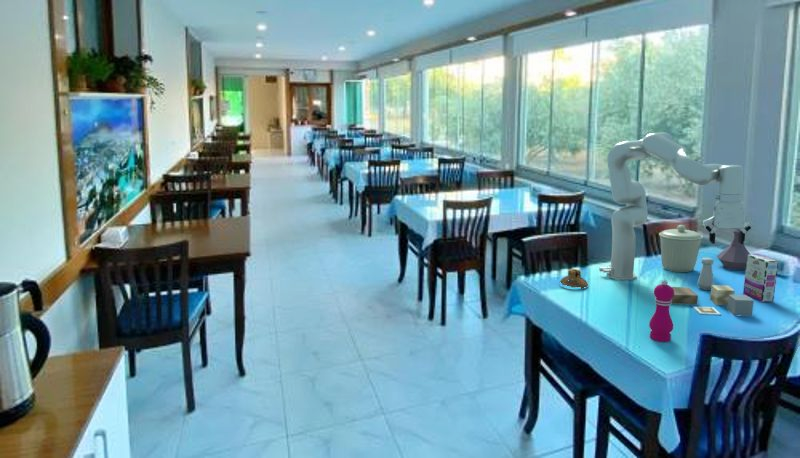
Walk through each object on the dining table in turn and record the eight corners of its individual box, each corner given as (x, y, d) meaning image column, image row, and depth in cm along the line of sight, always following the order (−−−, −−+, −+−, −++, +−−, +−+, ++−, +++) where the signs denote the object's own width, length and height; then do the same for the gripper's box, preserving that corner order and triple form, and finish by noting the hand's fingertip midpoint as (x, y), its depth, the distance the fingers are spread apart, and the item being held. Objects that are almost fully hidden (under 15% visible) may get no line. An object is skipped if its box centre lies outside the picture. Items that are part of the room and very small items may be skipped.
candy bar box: (774, 302, 216) (779, 261, 212) (762, 302, 215) (767, 261, 212) (754, 292, 227) (758, 253, 223) (742, 293, 226) (746, 254, 223)
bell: (573, 280, 248) (574, 264, 246) (593, 288, 237) (594, 271, 236) (553, 284, 243) (553, 268, 241) (572, 292, 232) (573, 275, 231)
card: (700, 314, 205) (700, 312, 205) (693, 307, 212) (693, 306, 212) (720, 314, 204) (720, 313, 204) (713, 308, 211) (713, 306, 210)
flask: (707, 263, 269) (711, 222, 265) (739, 261, 271) (743, 221, 267) (730, 273, 253) (735, 229, 249) (764, 271, 255) (769, 228, 251)
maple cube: (716, 305, 214) (717, 290, 213) (710, 299, 220) (711, 285, 219) (733, 305, 213) (734, 290, 212) (726, 300, 219) (728, 285, 218)
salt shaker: (714, 291, 230) (717, 260, 227) (699, 290, 231) (702, 260, 228) (710, 286, 235) (713, 256, 232) (695, 286, 236) (698, 256, 234)
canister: (707, 274, 251) (712, 228, 247) (666, 275, 252) (670, 229, 247) (687, 263, 269) (691, 220, 264) (649, 264, 269) (653, 221, 265)
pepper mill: (650, 332, 190) (655, 275, 186) (674, 336, 186) (679, 279, 182) (646, 339, 184) (650, 281, 180) (670, 344, 180) (675, 284, 176)
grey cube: (733, 315, 203) (735, 300, 202) (727, 309, 209) (728, 294, 208) (751, 316, 202) (753, 300, 201) (744, 310, 208) (746, 295, 207)
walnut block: (669, 304, 217) (670, 294, 216) (661, 296, 226) (662, 286, 225) (697, 305, 215) (698, 295, 214) (688, 296, 225) (688, 287, 224)
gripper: (707, 200, 208) (704, 245, 211) (759, 199, 204) (755, 245, 207) (701, 197, 215) (698, 240, 218) (751, 196, 211) (748, 241, 215)
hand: (726, 243), depth 213 cm, fingers open, 9 cm apart
